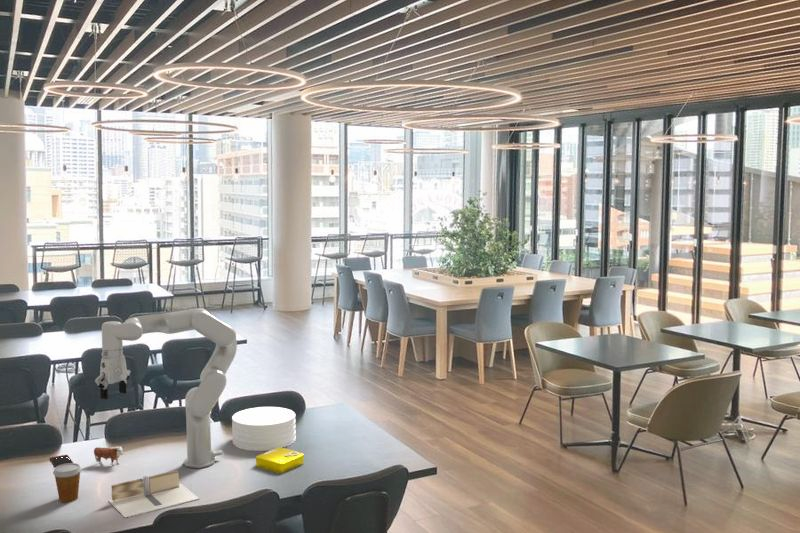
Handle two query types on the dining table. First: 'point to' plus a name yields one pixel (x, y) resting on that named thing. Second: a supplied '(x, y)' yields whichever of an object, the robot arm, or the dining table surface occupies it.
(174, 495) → the card
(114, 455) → the bull figurine
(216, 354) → the robot arm
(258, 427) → the plate stack
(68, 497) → the disposable coffee cup
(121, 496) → the fence panel
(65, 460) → the smartphone
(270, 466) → the element tile
